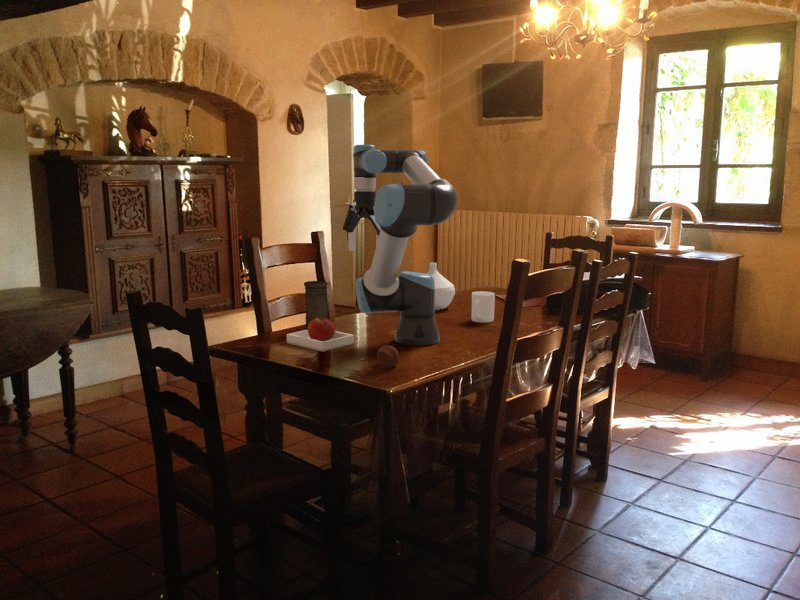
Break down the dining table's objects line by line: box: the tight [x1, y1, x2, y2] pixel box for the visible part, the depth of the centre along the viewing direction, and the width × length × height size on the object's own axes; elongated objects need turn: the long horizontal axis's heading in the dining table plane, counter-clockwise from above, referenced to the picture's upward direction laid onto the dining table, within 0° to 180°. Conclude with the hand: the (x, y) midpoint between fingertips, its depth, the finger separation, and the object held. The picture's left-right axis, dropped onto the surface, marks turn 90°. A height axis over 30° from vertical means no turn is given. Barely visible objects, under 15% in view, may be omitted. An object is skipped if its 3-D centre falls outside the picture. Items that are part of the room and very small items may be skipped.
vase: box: [426, 262, 456, 311], centre depth 294 cm, size 18×18×19 cm
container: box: [303, 280, 329, 330], centre depth 250 cm, size 9×9×18 cm
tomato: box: [307, 318, 336, 341], centre depth 234 cm, size 9×9×8 cm
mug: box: [471, 290, 496, 324], centre depth 268 cm, size 9×12×11 cm
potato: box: [376, 344, 400, 369], centre depth 206 cm, size 7×9×6 cm
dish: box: [286, 329, 355, 352], centre depth 234 cm, size 18×14×3 cm
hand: (365, 252), depth 246 cm, fingers open, 13 cm apart
